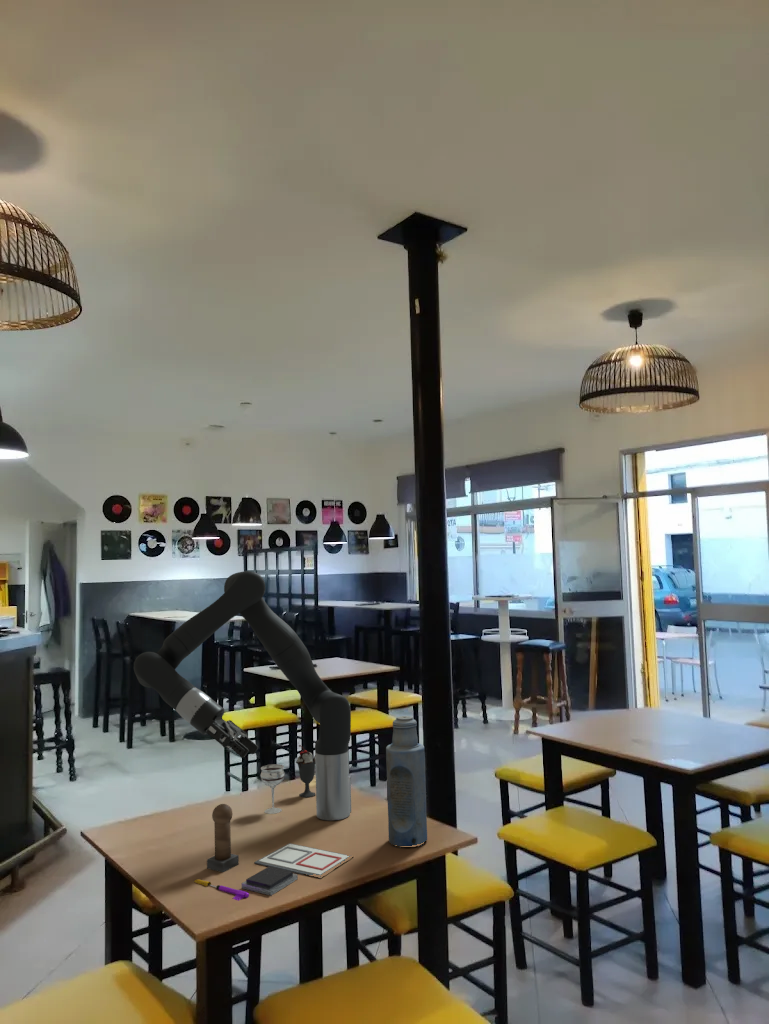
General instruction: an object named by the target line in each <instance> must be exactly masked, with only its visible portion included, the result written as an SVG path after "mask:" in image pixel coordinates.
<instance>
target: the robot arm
mask: <svg viewBox="0 0 769 1024" xmlns="http://www.w3.org/2000/svg"><path fill="white" fill-rule="evenodd" d="M223 585H224V586H223V591H224V593H223V594H222V595H221V596H220V597H219V598H217V599H216V600H215V601H214V602H213V603H211V604H210V605H209V606H207V607H206V608H204V609H203V610H201V611H200V612H198V613H197V614H195V615H193V616H191V617H190V618H189V619H187V620H186V621H185V622H184V623H182V624H181V625H179V626H178V627H177V628H176V629H175V630H174V631H173V632H171V634H169V635H168V636H166V638H165V639H164V640H163V642H162V643H163V644H162V646H161V648H159V650H158V651H157V652H154V651H144V652H142V653H141V654H139V655H138V656H137V657H136V658H135V660H134V662H133V671H134V674H135V676H136V678H137V679H136V680H137V681H138V683H139V684H140V685H141V686H143V687H145V688H149V689H150V688H152V689H154V691H156V693H158V694H159V696H160V698H161V699H162V700H163V701H164V702H165V704H167V705H169V706H170V707H171V708H172V709H173V710H174V711H176V712H177V713H178V715H179V716H180V717H181V718H182V719H183V720H184V721H186V722H187V723H188V724H190V725H191V726H192V727H193V728H195V730H197V731H198V732H199V733H200V734H201V735H203V736H204V735H210V736H211V737H212V738H213V739H214V740H215V741H216V742H217V743H218V744H220V745H221V746H222V747H223V748H228V749H231V750H232V751H233V752H235V753H236V754H237V755H238V756H239V757H241V759H242V758H245V757H246V756H247V755H248V753H249V754H251V755H254V754H255V753H256V752H257V751H258V749H259V745H257V744H256V743H255V742H254V741H253V740H251V739H250V738H249V737H248V735H249V734H248V733H247V732H246V731H244V729H242V728H240V726H238V725H237V724H236V723H234V722H233V720H230V719H229V720H225V719H223V716H224V715H225V708H224V707H222V706H221V705H220V704H219V703H217V702H216V701H215V700H214V699H212V697H210V696H209V695H208V694H206V693H205V692H204V691H202V690H201V689H199V688H197V687H196V686H195V685H194V684H193V683H191V682H190V681H188V680H187V679H186V678H184V677H183V676H182V675H181V674H180V673H178V672H177V670H176V669H177V668H178V667H179V665H180V664H181V663H182V661H183V660H184V659H186V658H187V657H189V655H190V654H191V653H193V652H194V651H195V650H196V649H198V648H199V647H200V646H201V645H203V643H204V642H205V641H206V640H208V639H209V638H210V637H211V636H212V635H214V633H216V632H217V631H218V630H219V629H220V628H221V627H222V626H223V627H224V625H225V624H226V623H228V622H229V621H230V620H231V619H233V618H234V617H236V616H238V615H239V614H240V615H241V617H243V619H244V620H245V621H246V622H247V624H248V625H249V626H250V628H251V629H252V631H253V633H254V634H255V636H257V639H258V640H259V642H260V643H261V644H262V646H263V647H264V649H265V650H266V652H267V653H268V655H269V656H270V658H271V659H272V661H273V662H274V663H275V665H276V667H278V669H279V670H280V671H281V672H282V674H283V675H284V676H285V678H286V679H287V680H288V681H289V683H291V685H292V686H293V687H294V689H296V691H297V692H298V693H299V696H300V697H301V699H302V701H303V703H304V705H305V706H306V708H307V710H308V711H309V713H310V714H311V717H312V718H313V719H314V721H316V722H317V723H318V724H319V737H318V739H317V740H316V741H315V743H314V756H315V797H316V798H315V802H316V818H318V819H320V820H323V821H340V820H343V819H346V818H348V817H350V816H351V813H352V789H351V788H352V787H351V786H352V785H351V777H350V767H349V766H350V762H349V743H350V740H351V734H352V730H351V727H352V715H351V714H352V713H351V705H350V702H349V700H348V699H347V698H346V697H345V696H343V695H342V694H339V693H337V692H334V691H332V690H331V689H330V688H329V687H328V686H327V684H326V683H325V682H324V681H323V680H322V678H321V677H320V676H319V675H318V673H317V670H316V668H315V665H314V663H313V660H312V658H311V655H310V652H309V650H308V648H307V646H306V645H305V644H304V643H303V641H302V640H301V638H300V636H298V634H297V632H295V630H294V629H293V628H292V627H291V626H290V625H289V624H288V623H286V622H285V620H283V619H282V618H281V617H280V616H279V615H277V614H276V613H275V612H274V611H273V610H272V609H271V607H269V605H268V603H267V602H266V601H265V599H264V598H263V597H264V595H265V593H266V582H265V580H264V577H262V576H261V575H260V574H259V573H257V572H255V571H250V570H249V571H248V570H244V571H239V572H236V573H233V574H230V575H229V576H228V577H227V578H226V580H225V582H224V584H223Z"/></svg>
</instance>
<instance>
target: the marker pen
mask: <svg viewBox="0 0 769 1024" xmlns="http://www.w3.org/2000/svg"><path fill="white" fill-rule="evenodd" d="M193 883H196V884H198V885H202V886H204V887H208V886H209V887H213V888H216V890H218V891H222V892H225V893H228V894H232V895H234V896H233V897H232V899H233V900H235V901H240V900H242V899H247V898H249V897H250V893H249V892H247V891H244V890H241V889H235V888H231V887H228V886H224V885H220V884H219V885H214V884H212V882H211V881H210V880H209V881H208V880H203V879H195V880H194V881H193Z"/></svg>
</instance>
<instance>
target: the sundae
mask: <svg viewBox="0 0 769 1024" xmlns="http://www.w3.org/2000/svg"><path fill="white" fill-rule="evenodd" d="M298 747H300V749H301V750H300V752H299V756H298V757H297V760H296V761H295V764H297V766H298V773H299V779H300V781H301V782H303V784H304V785H305V786H304V787H305V788H304V791H303V792H301V793H299V797H300V798H313V797H316V792H313V791H311V790H310V783H312V781H313V780H314V779H315V778H314V777H315V771H316V765H315V755H313V753H312V752H310V751H308V750H306V749H305V748H304V747H303V746H302V744H299V745H298ZM313 756H314V757H313Z"/></svg>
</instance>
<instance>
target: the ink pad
mask: <svg viewBox="0 0 769 1024" xmlns="http://www.w3.org/2000/svg"><path fill="white" fill-rule="evenodd" d="M295 880H296V881H297V880H298V873H294V872H292V871H288V870H283V869H279V868H274V867H270V866H269V867H268V866H266V868H264V869H262V870H261V871H259V872H256V873H254V874H253V875H251V876H249V877H247V878H246V880H245V881H243V882H242V883H241V889H243V890H246V891H250V892H255V893H259V894H263V895H267V896H273V895H274V894H276V893H277V892H279V891H281V890H282V889H284V888H285V887H287V886H289V885H291V884H292V883H293V882H296V881H295Z"/></svg>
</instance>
